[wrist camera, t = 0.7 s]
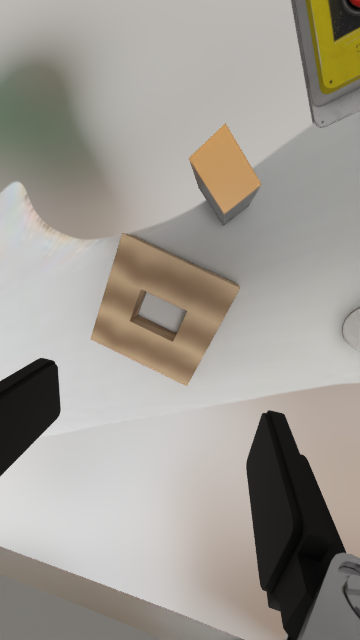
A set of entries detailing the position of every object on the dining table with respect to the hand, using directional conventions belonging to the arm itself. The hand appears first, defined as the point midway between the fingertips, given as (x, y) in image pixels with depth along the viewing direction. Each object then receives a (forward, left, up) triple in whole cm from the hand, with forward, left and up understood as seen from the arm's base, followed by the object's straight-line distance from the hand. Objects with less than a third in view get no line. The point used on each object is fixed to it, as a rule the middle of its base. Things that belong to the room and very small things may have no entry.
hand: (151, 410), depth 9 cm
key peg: (-10, -10, -26) cm, 30 cm away
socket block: (+7, -2, -26) cm, 27 cm away
